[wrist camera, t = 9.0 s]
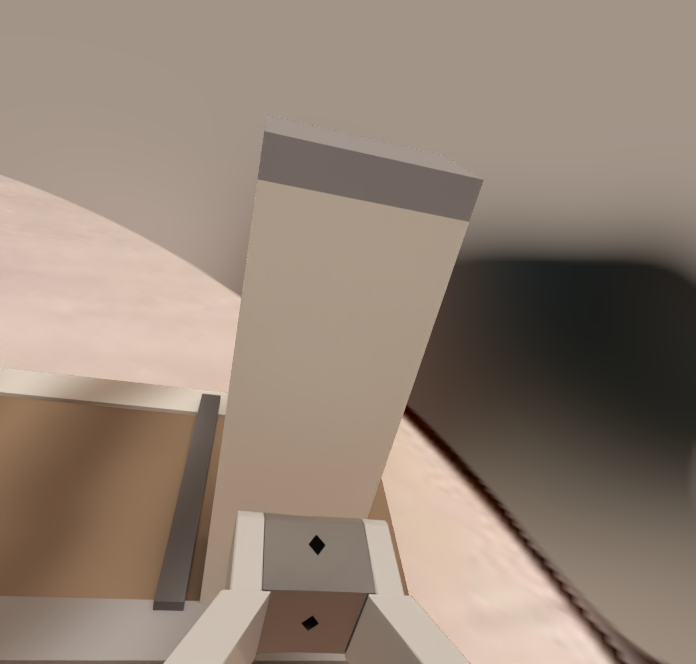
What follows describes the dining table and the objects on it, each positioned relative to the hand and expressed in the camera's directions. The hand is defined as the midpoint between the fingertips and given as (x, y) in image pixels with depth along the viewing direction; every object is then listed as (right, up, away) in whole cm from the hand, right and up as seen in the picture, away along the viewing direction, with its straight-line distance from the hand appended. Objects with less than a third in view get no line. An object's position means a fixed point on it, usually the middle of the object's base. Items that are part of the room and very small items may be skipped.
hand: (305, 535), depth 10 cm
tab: (-2, -3, +6) cm, 7 cm away
